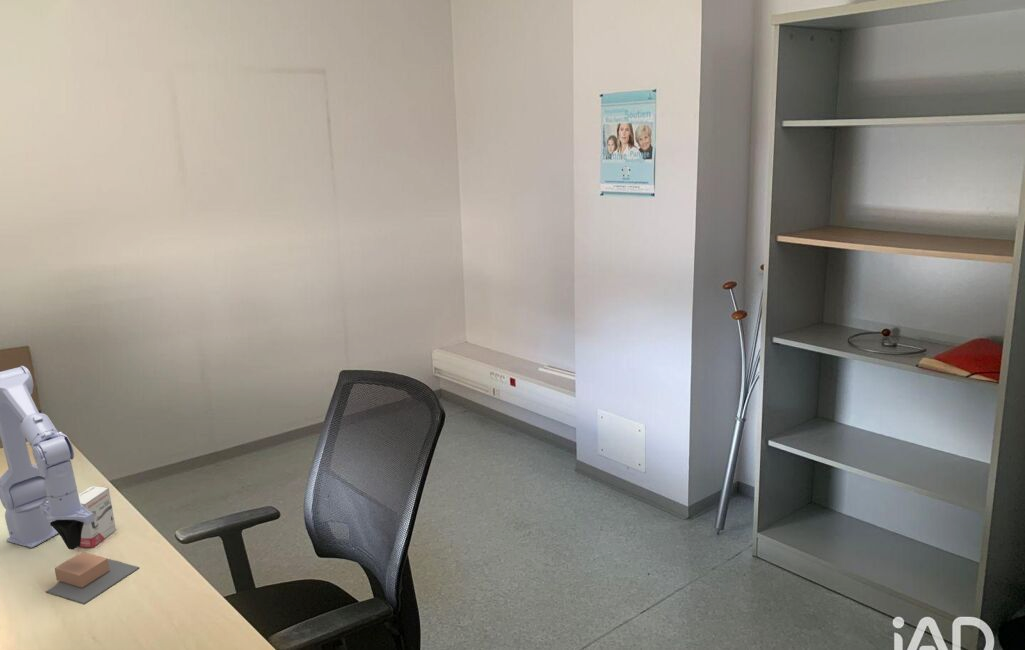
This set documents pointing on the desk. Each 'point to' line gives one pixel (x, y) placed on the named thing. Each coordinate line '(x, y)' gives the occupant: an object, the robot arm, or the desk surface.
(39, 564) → the desk surface
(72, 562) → the salmon tan block
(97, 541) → the ink box
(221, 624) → the desk surface
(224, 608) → the desk surface
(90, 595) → the rubber mat
